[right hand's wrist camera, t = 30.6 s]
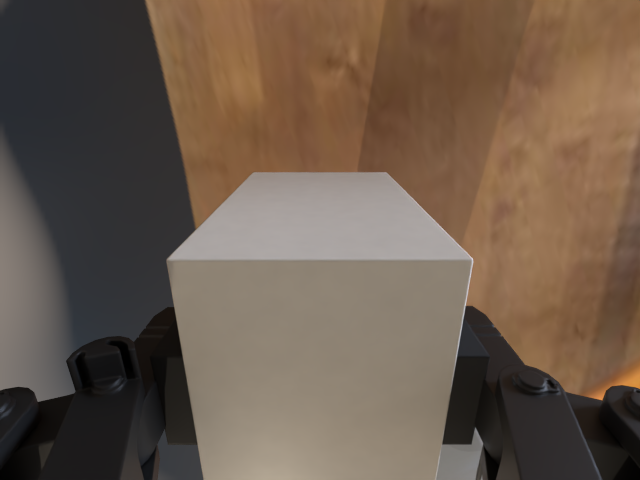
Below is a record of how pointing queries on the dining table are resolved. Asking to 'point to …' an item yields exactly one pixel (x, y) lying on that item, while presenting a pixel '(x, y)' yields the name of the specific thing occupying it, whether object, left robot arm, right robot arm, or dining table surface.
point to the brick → (319, 329)
